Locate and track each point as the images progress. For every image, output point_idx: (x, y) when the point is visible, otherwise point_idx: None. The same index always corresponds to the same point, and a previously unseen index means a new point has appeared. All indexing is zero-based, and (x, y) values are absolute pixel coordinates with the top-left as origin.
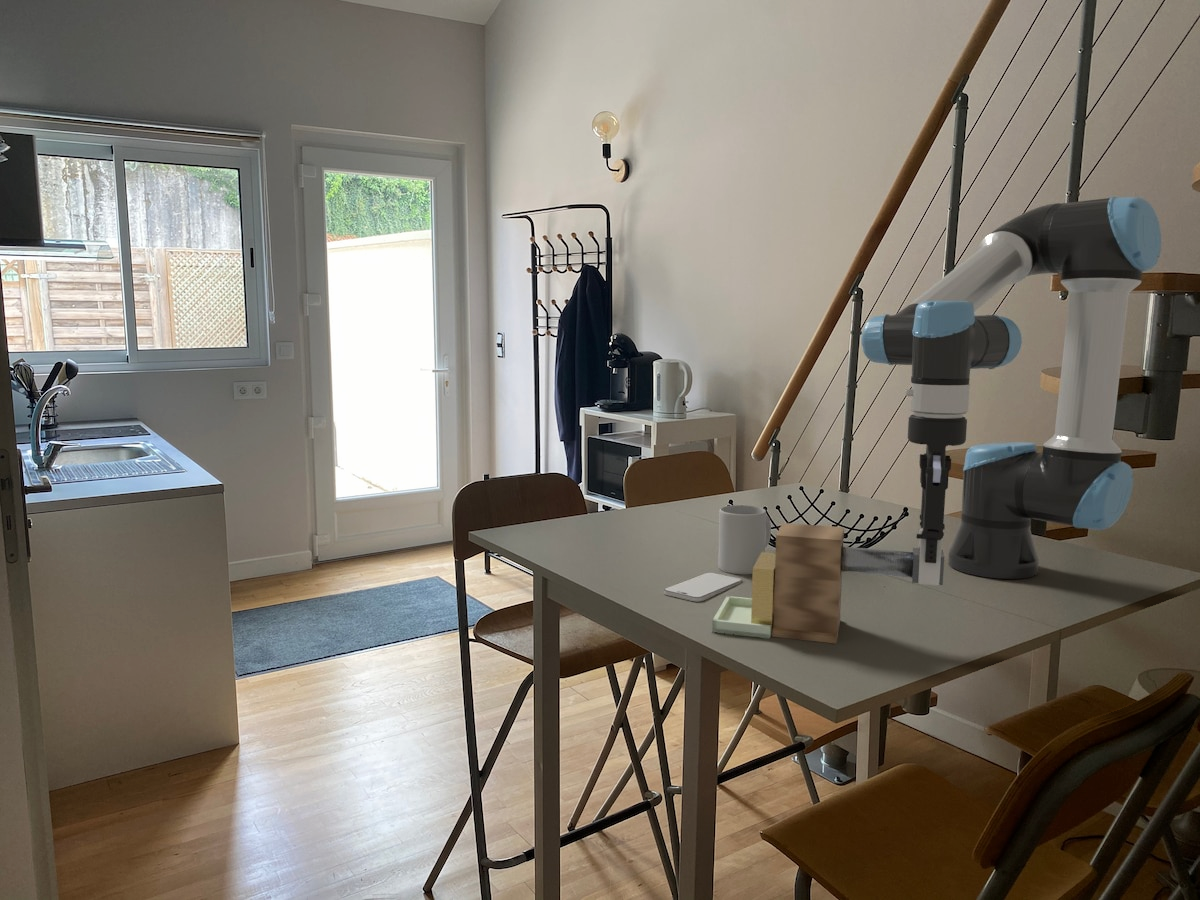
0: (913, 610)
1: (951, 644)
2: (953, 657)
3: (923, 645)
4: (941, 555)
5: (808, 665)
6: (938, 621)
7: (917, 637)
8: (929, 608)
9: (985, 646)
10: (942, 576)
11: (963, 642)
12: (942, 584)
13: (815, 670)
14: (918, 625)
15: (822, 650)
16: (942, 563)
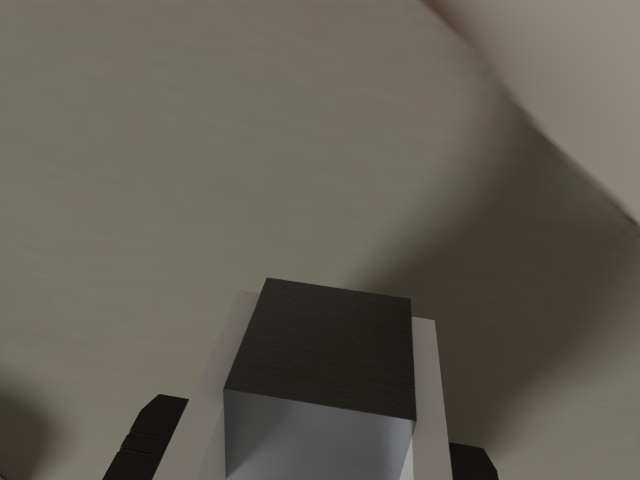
0: (77, 186)
1: (368, 127)
2: (490, 143)
3: (392, 212)
4: (372, 424)
5: (557, 456)
6: (152, 128)
7: (325, 216)
8: (31, 134)
9: (367, 6)
10: (409, 331)
11: (340, 82)
12: (410, 302)
13: (587, 450)
14: (214, 195)
15: (461, 424)
16: (413, 392)
